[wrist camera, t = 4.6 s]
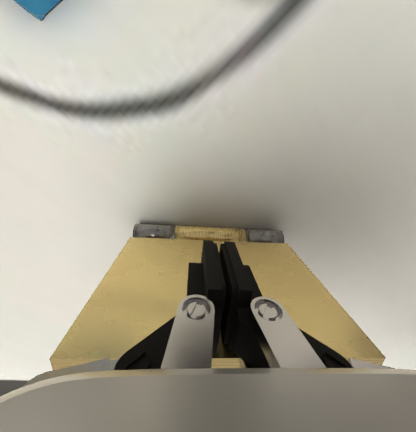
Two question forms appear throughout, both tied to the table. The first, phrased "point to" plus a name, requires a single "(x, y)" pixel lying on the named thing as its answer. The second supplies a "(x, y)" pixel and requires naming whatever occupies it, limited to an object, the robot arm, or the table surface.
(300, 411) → the robot arm
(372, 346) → the brass leaf
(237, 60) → the table surface
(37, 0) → the ink box
